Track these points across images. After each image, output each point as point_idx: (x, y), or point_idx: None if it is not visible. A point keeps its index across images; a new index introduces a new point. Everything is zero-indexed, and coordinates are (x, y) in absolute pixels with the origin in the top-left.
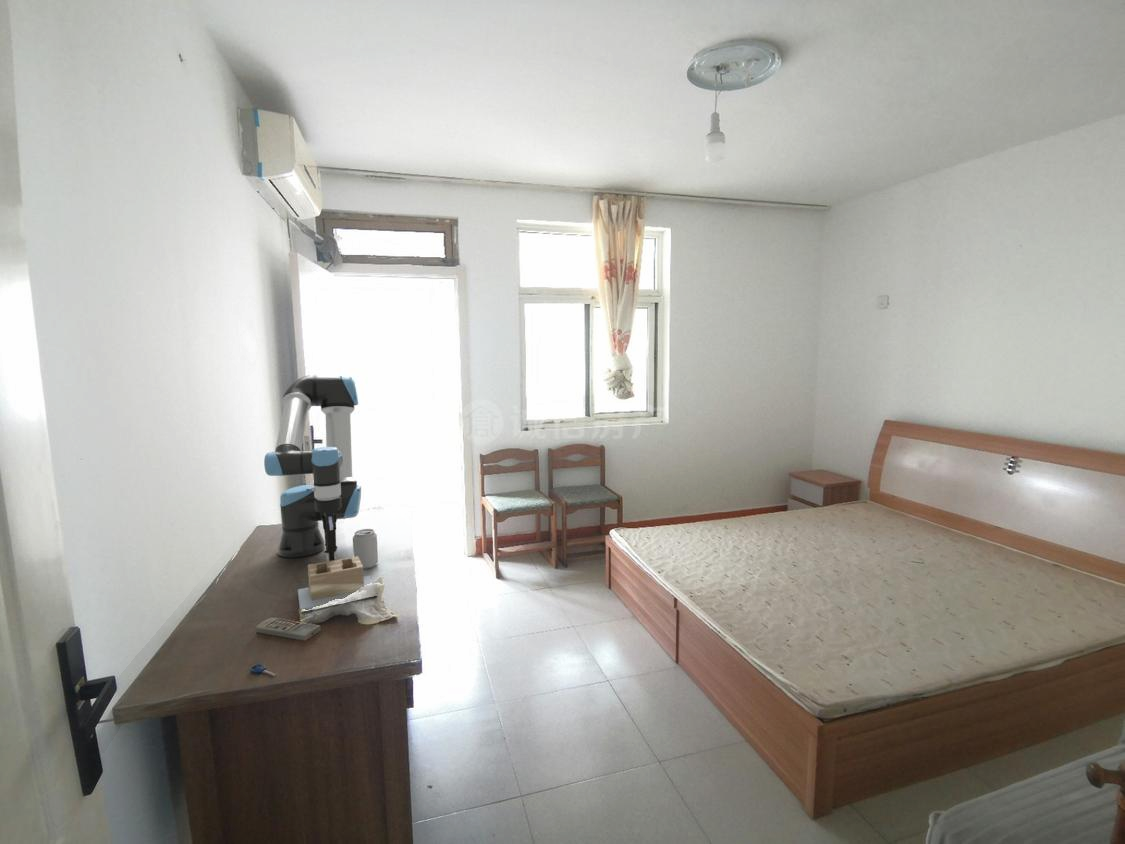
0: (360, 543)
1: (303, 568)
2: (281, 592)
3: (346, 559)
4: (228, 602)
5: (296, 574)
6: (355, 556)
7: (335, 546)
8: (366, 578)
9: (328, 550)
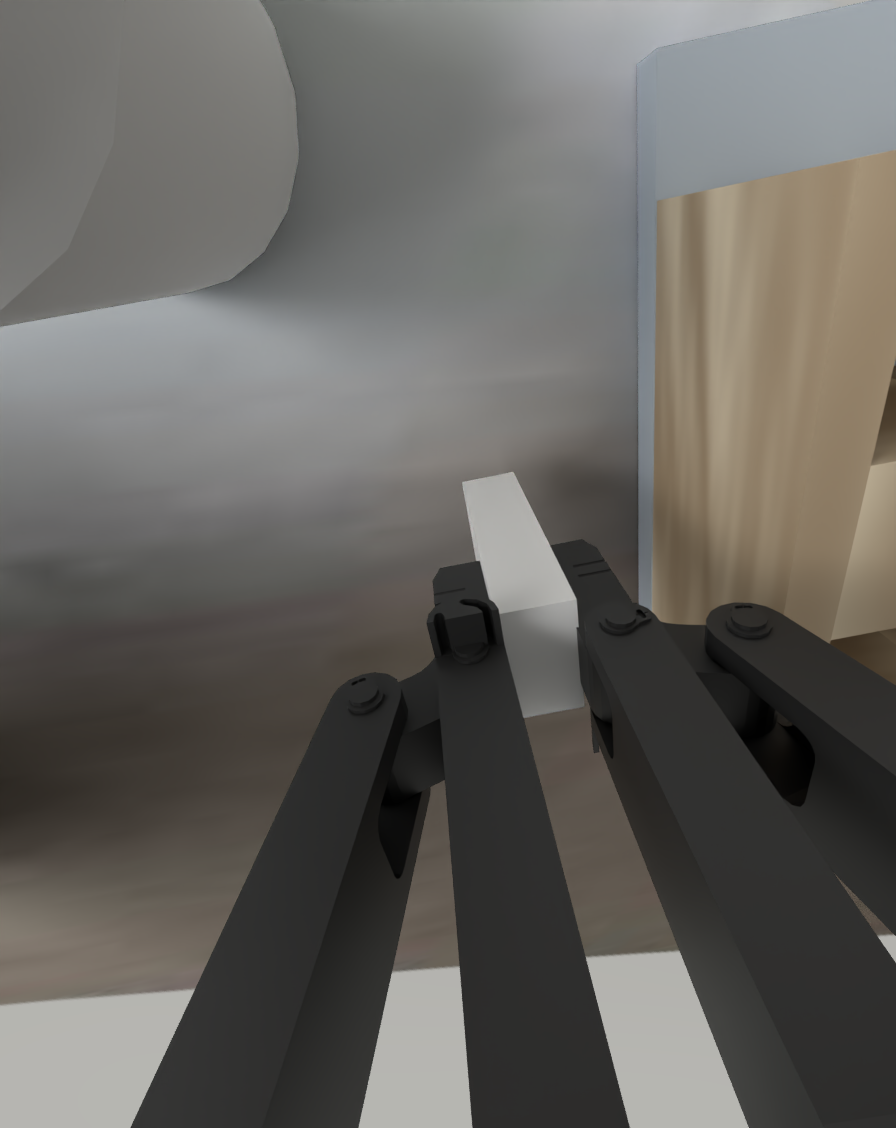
0: (164, 91)
1: (164, 714)
2: (569, 748)
3: (886, 387)
4: (580, 898)
5: (281, 732)
6: (854, 217)
7: (860, 674)
8: (738, 88)
9: (778, 723)
